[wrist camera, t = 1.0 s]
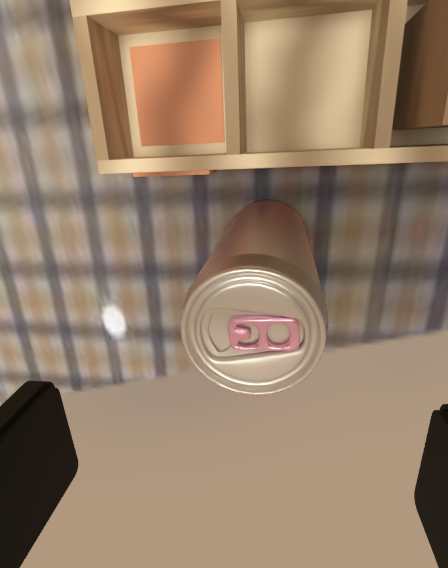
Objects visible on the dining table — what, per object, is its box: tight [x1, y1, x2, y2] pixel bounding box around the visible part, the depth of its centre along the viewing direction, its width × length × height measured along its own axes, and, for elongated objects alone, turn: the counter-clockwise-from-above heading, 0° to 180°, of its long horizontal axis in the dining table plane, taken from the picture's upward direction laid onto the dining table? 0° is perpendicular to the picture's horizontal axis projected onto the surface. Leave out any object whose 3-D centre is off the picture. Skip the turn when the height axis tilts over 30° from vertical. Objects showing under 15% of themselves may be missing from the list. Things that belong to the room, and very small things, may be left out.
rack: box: [70, 0, 448, 177], centre depth 21 cm, size 25×9×5 cm, turn 92°
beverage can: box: [181, 200, 328, 395], centre depth 20 cm, size 6×6×15 cm
